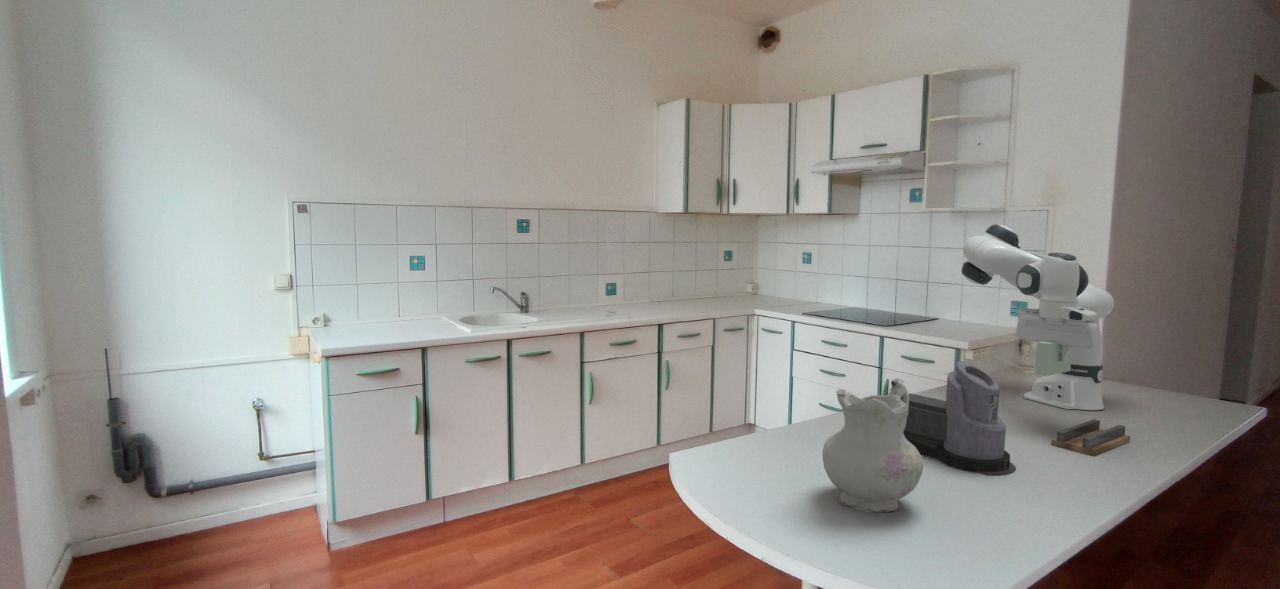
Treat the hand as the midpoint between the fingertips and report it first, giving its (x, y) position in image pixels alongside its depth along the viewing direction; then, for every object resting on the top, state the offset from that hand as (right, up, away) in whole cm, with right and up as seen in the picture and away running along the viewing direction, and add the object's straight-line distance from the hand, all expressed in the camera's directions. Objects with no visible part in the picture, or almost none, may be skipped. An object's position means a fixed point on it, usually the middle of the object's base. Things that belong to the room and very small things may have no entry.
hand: (1053, 359), depth 177 cm
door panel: (0, -4, 0) cm, 4 cm away
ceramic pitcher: (-68, -25, -45) cm, 86 cm away
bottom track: (+5, -22, -8) cm, 24 cm away
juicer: (-38, -23, -18) cm, 48 cm away
